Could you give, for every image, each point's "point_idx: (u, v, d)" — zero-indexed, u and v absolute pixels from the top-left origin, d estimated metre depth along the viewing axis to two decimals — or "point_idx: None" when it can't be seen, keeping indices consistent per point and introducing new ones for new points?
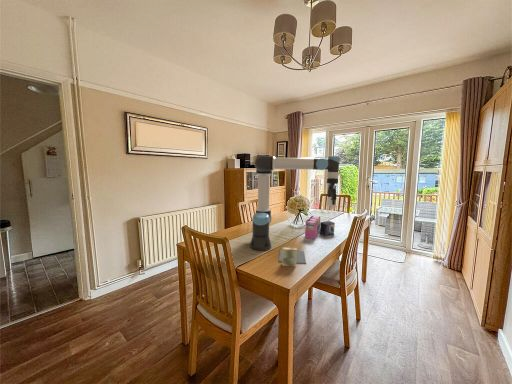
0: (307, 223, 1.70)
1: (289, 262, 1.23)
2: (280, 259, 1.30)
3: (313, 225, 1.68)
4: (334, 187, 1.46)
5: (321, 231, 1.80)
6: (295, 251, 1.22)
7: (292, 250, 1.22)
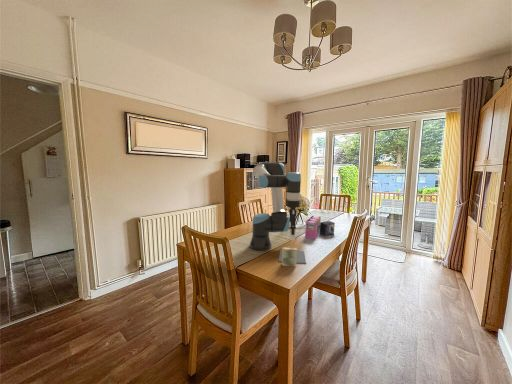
0: (307, 223, 1.70)
1: (289, 262, 1.23)
2: (280, 259, 1.30)
3: (313, 225, 1.68)
4: (293, 212, 1.15)
5: (321, 231, 1.80)
6: (295, 251, 1.22)
7: (292, 250, 1.22)
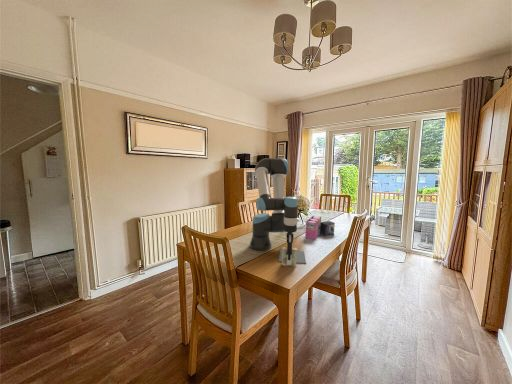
0: (307, 223, 1.70)
1: None
2: (280, 259, 1.30)
3: (313, 225, 1.68)
4: (290, 241, 1.17)
5: (321, 231, 1.80)
6: (295, 251, 1.22)
7: (292, 250, 1.22)
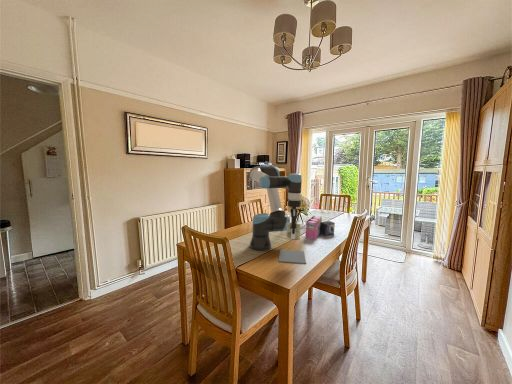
0: (307, 223, 1.70)
1: None
2: (280, 259, 1.30)
3: (313, 225, 1.68)
4: (294, 215, 1.23)
5: (321, 231, 1.80)
6: (299, 225, 1.28)
7: (296, 224, 1.28)
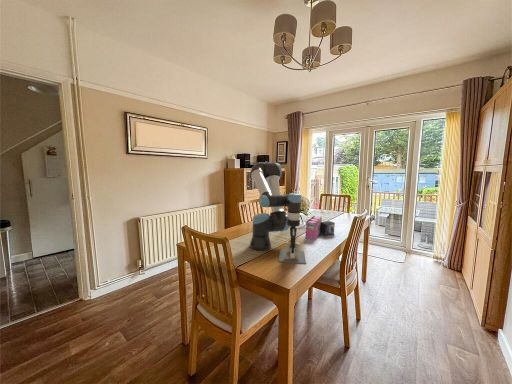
0: (307, 223, 1.70)
1: None
2: (280, 259, 1.30)
3: (313, 225, 1.67)
4: (293, 234, 1.24)
5: (321, 231, 1.80)
6: (298, 245, 1.29)
7: (295, 244, 1.30)
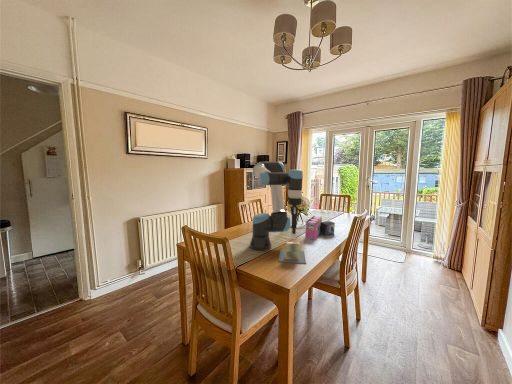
0: (307, 223, 1.70)
1: (293, 256, 1.31)
2: (280, 259, 1.30)
3: (313, 225, 1.67)
4: (295, 213, 1.15)
5: (321, 231, 1.80)
6: (298, 245, 1.29)
7: (295, 244, 1.30)
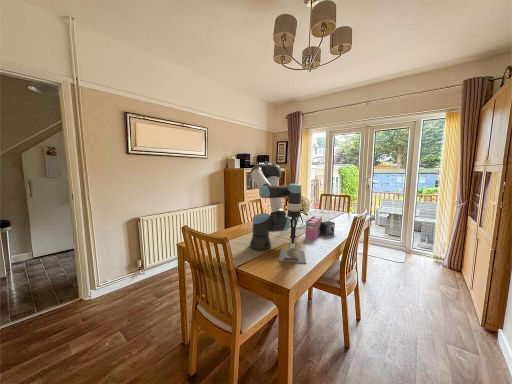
0: (307, 223, 1.69)
1: (293, 255, 1.31)
2: (280, 259, 1.30)
3: (313, 225, 1.67)
4: (294, 226, 1.23)
5: (321, 231, 1.80)
6: (298, 243, 1.31)
7: (295, 242, 1.32)
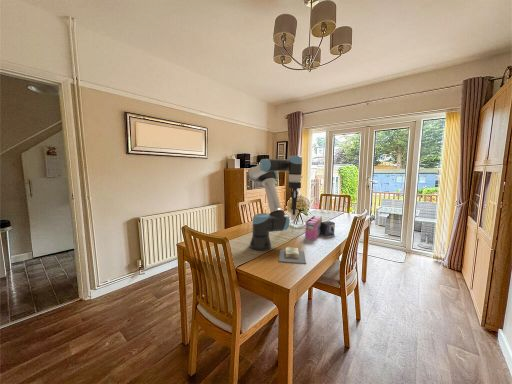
0: (307, 223, 1.69)
1: (292, 252, 1.35)
2: (280, 259, 1.30)
3: (313, 225, 1.67)
4: (295, 196, 1.25)
5: (321, 231, 1.80)
6: (297, 248, 1.42)
7: (294, 248, 1.42)
